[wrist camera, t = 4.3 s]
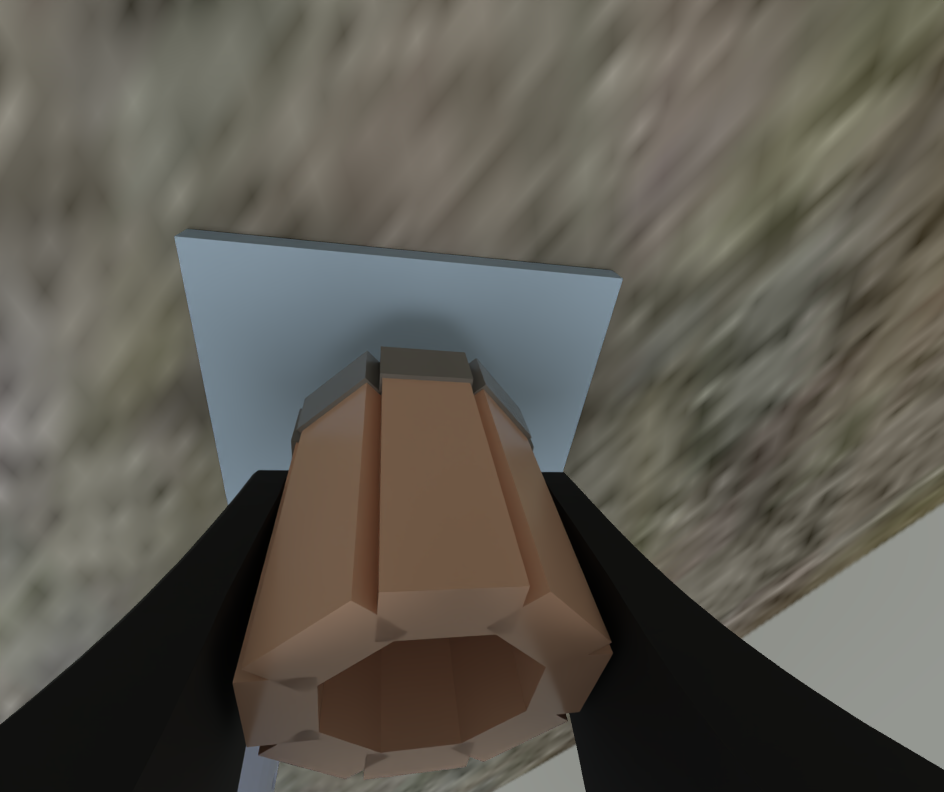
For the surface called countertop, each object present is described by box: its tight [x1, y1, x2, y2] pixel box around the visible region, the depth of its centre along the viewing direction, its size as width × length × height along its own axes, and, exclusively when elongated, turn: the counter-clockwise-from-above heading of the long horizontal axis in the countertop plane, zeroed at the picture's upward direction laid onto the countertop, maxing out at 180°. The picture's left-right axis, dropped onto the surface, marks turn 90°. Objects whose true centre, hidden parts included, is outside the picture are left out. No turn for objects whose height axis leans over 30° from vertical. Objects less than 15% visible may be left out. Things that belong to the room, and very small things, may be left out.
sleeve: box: [233, 346, 613, 780], centre depth 9 cm, size 5×5×6 cm
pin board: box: [174, 229, 623, 505], centre depth 15 cm, size 16×12×4 cm
